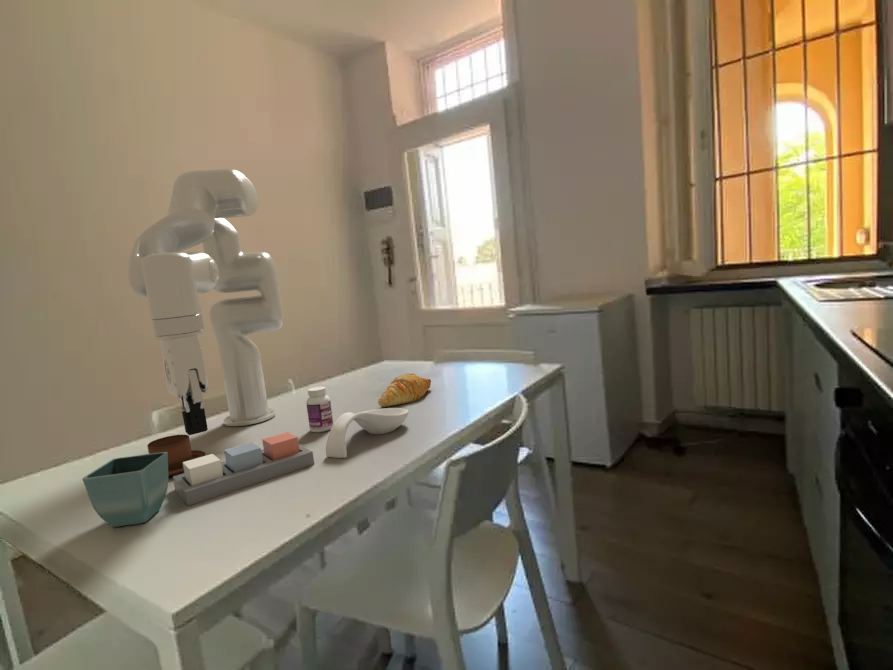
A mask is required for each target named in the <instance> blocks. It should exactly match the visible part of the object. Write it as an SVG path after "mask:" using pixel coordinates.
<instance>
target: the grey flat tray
mask: <svg viewBox="0 0 893 670" xmlns="http://www.w3.org/2000/svg"><path fill="white" fill-rule="evenodd" d="M299 450H300V452H299V453H295V454H292V455H289V456H286V457H283V458H279V459H276V460H273V459H271V458H269V457H268V456H266V455H265V454H264V449H261V453H262V459H263V464H260V465H257V466H254V467H251V468H247V469H244V470H241V471H238V472H234V471H232V470H231V469H230V468H229V467H227V465H226V460H223V461H221V466H222V472H223V476H222V477H219V478H215V479H212V480H209V481H206V482H203V483H199V484H196V485H193V486H192V485H191V484H190V483H189V482H188V481H187V480H186V479H185V474H184V472H183V473H179V474H176V475H172V481H173V486H174V491H176V493H177V494H178V495H179V496H180V498H181V499H182V500H183V501H184V503H185V504H186V505H187V506H188V507H189V506H192V505H195V504H199V503H201V502H204V501H208V500H211V499H213V498H217V497H219V496H222V495H225V494H228V493H231V492H234V491H238V490H240V489H243V488H246V487H249V486H252V485H255V484H259V483H261V482H264V481H267V480H270V479H273V478H276V477H277V478H278V477H279V476H282V475H285V474H288V473H291V472H294V471H298V470H301V469H303V468H306V467H310V466H313V465H315V459H314V452H313V451H312V450H310V449H308V448H306V447H304V446H302V445H300V444H299Z"/></svg>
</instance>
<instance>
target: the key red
mask: <svg viewBox="0 0 893 670" xmlns="http://www.w3.org/2000/svg"><path fill="white" fill-rule="evenodd" d="M261 440H262V447H263V450H264V454H265V455H266V456H268V457H269V458H271V459H273V460H276V459H279V458H283V457H286V456H289V455H292V454H295V453H299V452H300V450H299V445H300V444H299V437H298V436H297V435H294V434H292V433H290V432H283V433H279V434H275V435H273V436H269V437H266V438H263V439H261Z"/></svg>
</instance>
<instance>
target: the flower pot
mask: <svg viewBox="0 0 893 670" xmlns="http://www.w3.org/2000/svg"><path fill="white" fill-rule="evenodd" d="M81 480H82V482H83V485H84V486H85V490H86V493H87V496H88V497H89V500H90V503H91V506H92V508H93V509H94V511H95V512H96V513H97V515H98V516H99V517H100V518H101V519H102V520H103V521H104V522H105V523H107V524H108V525H110V526H111V527H114V528H115V527H123V526H131V525H137V524H143V523H146V522H148V521H149V520H150V519H151V518H152V517H153V516H154V515H155V514H156V513H158V512H159V510H160V509H161V508H162V505H163V503H164V501H165V498H166V495H167V492H168V486H169V476H168V452H161V453H153V454H149V453H147V454H139V455H132V456H130V455H129V456H123V457H122V456H121V457H115V458H112V459H110V460H108V461H107V462H105V463H104V464H103V465H101V466H99V467H98V468H95V470H93V471H91V472H90V473H88V474H86V475H85V476H84V477H82V479H81Z"/></svg>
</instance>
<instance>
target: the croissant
mask: <svg viewBox="0 0 893 670" xmlns="http://www.w3.org/2000/svg"><path fill="white" fill-rule="evenodd" d="M431 384H432V381H431V379H430V378H426V377H421V376H419V375H416V373H405V374H402V375H399V376H398V377H396V378H394V379H393V380H392V381H391V383H390V384H388V386H387V388H386V390H385V391H384V392H383V393H382V394H381V396H380V397H379V398H378V400H377V403H378V405H379V407H392V406H397V405H398V406H399V405H403V404H404V405H405V404H409V403H412V402H415V401H417V400H420V399H421V398H422V397H424V395H425V394H426V393H427V391H428V390H429V389H430V388H431Z"/></svg>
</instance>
